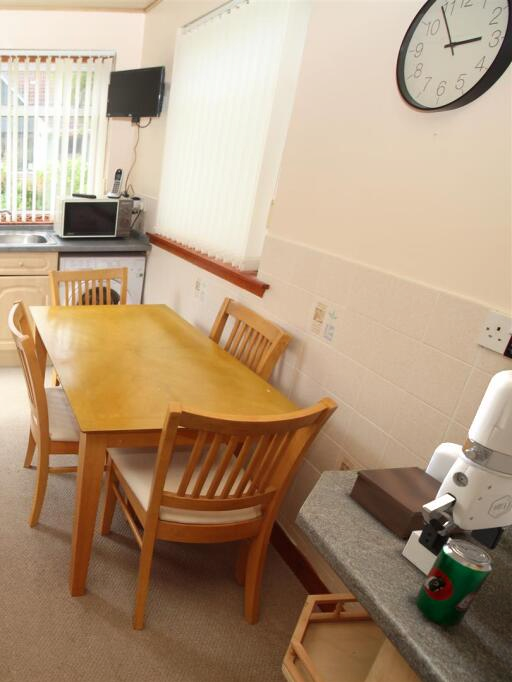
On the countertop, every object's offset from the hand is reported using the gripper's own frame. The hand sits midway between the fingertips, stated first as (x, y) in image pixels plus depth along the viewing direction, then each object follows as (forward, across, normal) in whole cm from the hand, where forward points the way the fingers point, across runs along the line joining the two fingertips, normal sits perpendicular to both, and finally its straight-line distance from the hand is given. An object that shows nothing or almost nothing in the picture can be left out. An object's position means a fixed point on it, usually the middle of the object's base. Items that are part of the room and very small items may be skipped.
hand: (455, 545), depth 75 cm
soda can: (+5, -9, -6) cm, 12 cm away
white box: (+5, -1, +1) cm, 5 cm away
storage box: (+5, +6, +13) cm, 15 cm away
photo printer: (+6, +17, +14) cm, 23 cm away
